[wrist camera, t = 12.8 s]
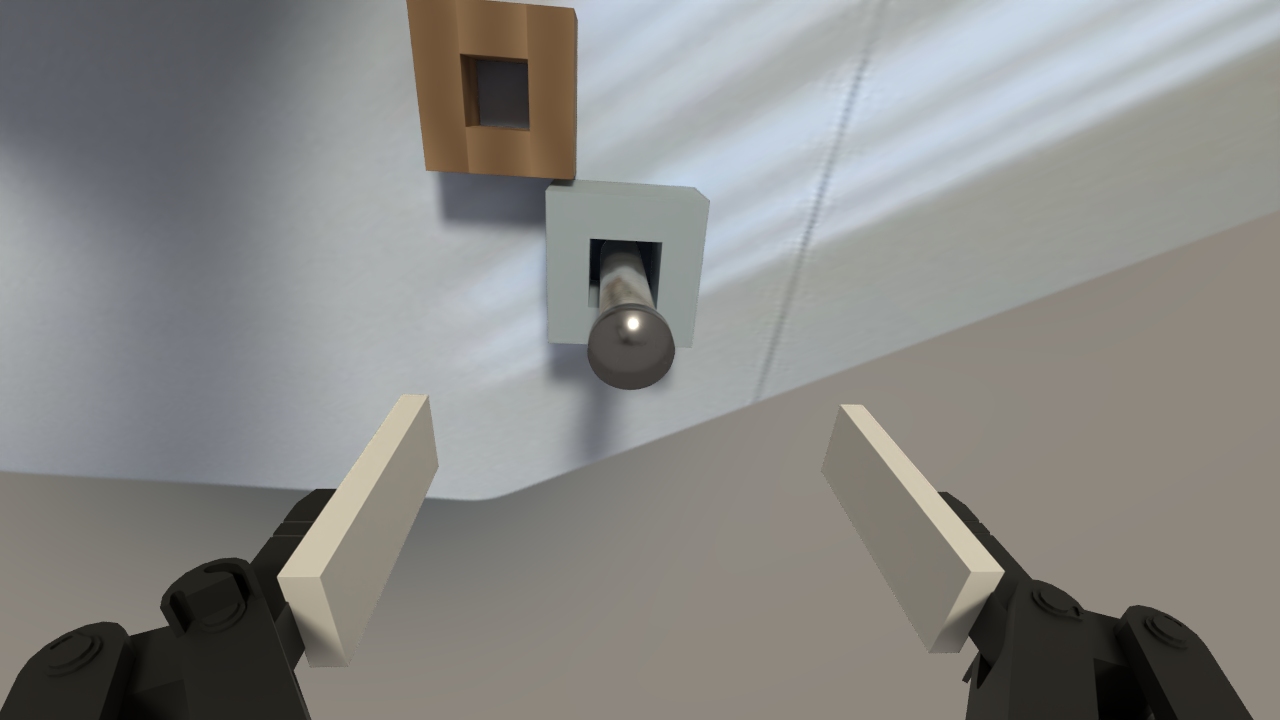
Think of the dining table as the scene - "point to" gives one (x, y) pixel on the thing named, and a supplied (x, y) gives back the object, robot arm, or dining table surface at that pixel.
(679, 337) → the socket block
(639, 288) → the lock pin
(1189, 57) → the dining table surface
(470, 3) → the mount block
